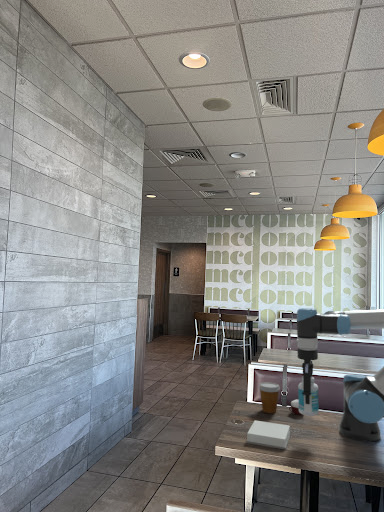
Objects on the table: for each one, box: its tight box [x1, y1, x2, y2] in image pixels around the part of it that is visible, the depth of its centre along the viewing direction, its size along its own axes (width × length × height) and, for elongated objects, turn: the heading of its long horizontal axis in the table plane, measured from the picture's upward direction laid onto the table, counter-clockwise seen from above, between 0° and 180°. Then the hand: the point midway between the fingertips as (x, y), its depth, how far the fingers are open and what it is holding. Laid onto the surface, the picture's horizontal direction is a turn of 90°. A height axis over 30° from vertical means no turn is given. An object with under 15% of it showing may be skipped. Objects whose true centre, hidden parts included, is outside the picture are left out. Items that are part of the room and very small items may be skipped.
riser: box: [246, 420, 291, 450], centre depth 146 cm, size 14×14×4 cm
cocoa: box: [288, 398, 303, 416], centre depth 174 cm, size 10×6×12 cm, turn 86°
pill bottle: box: [297, 376, 320, 417], centre depth 145 cm, size 8×7×14 cm
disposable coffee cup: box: [258, 381, 281, 414], centre depth 177 cm, size 10×10×12 cm
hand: (308, 408), depth 145 cm, fingers closed on pill bottle, 7 cm apart
